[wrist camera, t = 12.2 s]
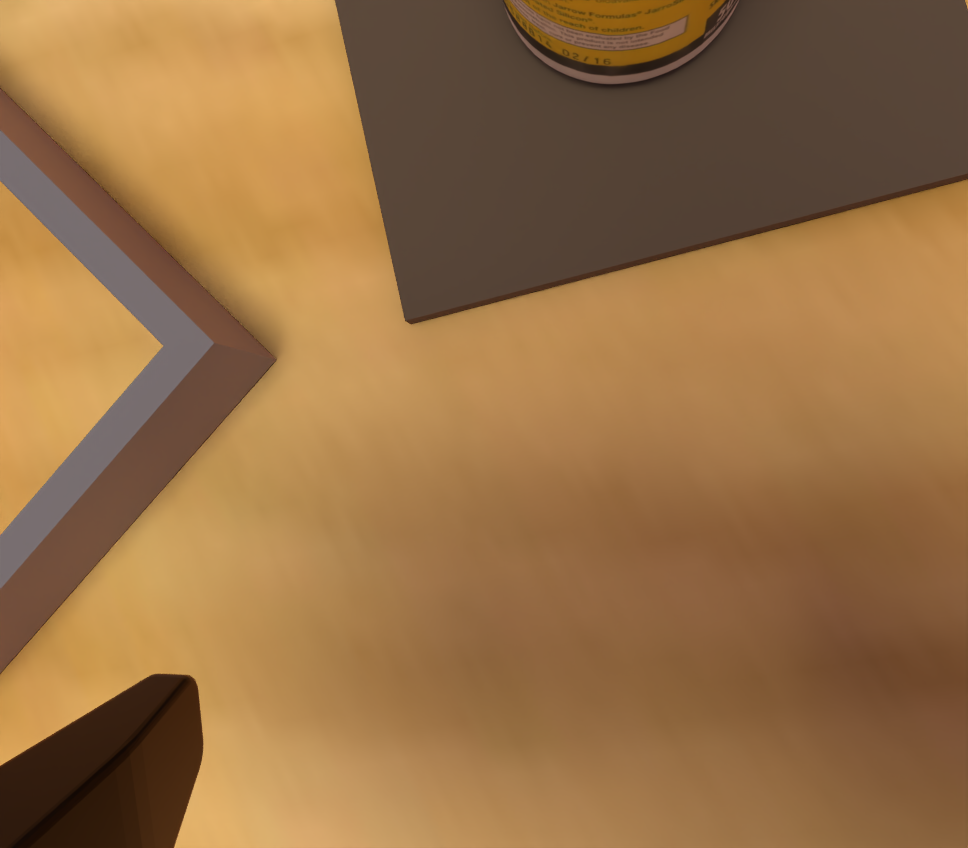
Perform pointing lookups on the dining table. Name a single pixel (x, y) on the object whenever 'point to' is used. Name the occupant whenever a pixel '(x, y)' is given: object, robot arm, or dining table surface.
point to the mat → (641, 137)
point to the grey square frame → (144, 404)
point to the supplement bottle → (617, 34)
